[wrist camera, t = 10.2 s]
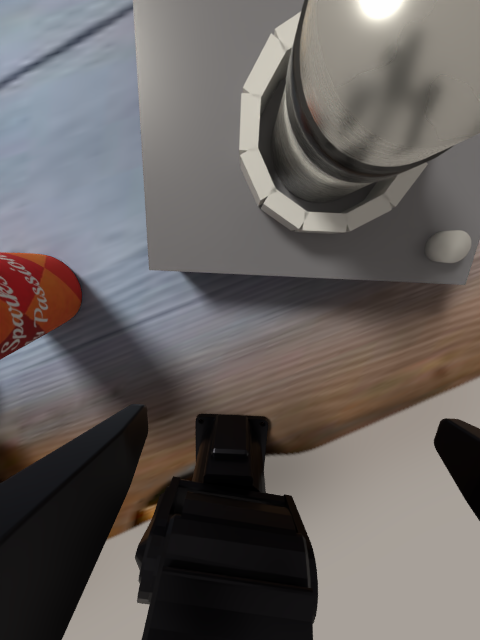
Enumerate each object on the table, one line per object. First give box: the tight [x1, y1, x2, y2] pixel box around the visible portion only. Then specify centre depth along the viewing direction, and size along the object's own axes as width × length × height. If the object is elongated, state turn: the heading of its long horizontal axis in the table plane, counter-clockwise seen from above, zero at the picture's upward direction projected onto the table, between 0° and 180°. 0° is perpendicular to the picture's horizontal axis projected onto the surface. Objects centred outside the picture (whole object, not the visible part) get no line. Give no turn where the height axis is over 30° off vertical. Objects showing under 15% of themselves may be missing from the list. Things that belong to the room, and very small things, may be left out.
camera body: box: [133, 0, 480, 285], centre depth 14 cm, size 13×18×7 cm
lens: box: [271, 0, 480, 203], centre depth 9 cm, size 5×5×8 cm
